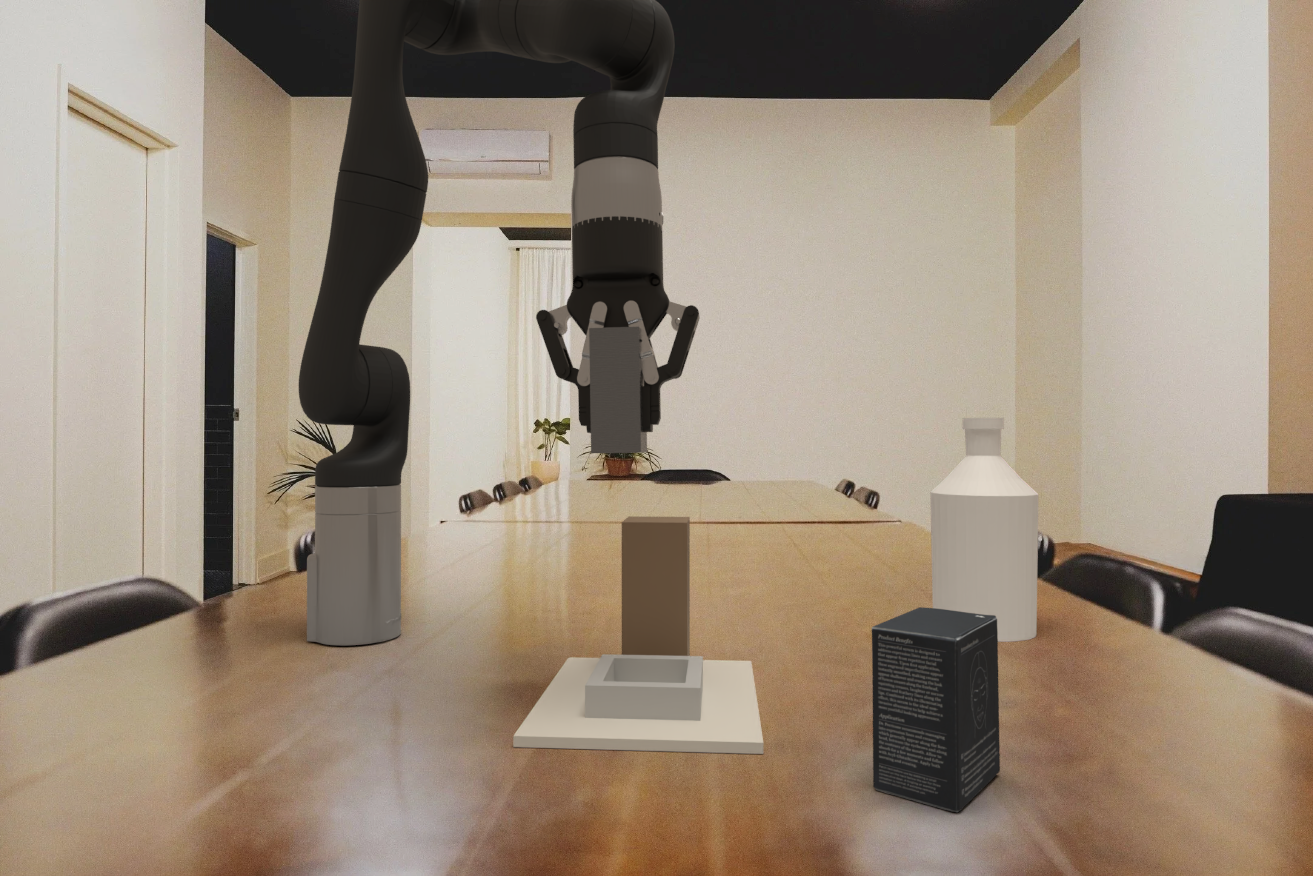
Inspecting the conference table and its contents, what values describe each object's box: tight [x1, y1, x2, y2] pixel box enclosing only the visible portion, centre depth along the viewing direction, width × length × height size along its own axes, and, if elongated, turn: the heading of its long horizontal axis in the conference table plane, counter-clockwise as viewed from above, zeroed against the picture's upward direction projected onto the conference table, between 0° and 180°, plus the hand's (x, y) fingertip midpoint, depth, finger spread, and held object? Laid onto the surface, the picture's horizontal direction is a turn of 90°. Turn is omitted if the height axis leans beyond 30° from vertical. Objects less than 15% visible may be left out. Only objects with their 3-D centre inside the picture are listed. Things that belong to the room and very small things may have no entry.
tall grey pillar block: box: [589, 327, 648, 454], centre depth 68 cm, size 4×5×10 cm
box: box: [871, 606, 1001, 813], centre depth 53 cm, size 8×6×11 cm
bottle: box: [929, 417, 1040, 643], centre depth 97 cm, size 12×12×25 cm
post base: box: [512, 515, 764, 755], centre depth 70 cm, size 18×22×15 cm
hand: (620, 431), depth 68 cm, fingers closed on tall grey pillar block, 4 cm apart
